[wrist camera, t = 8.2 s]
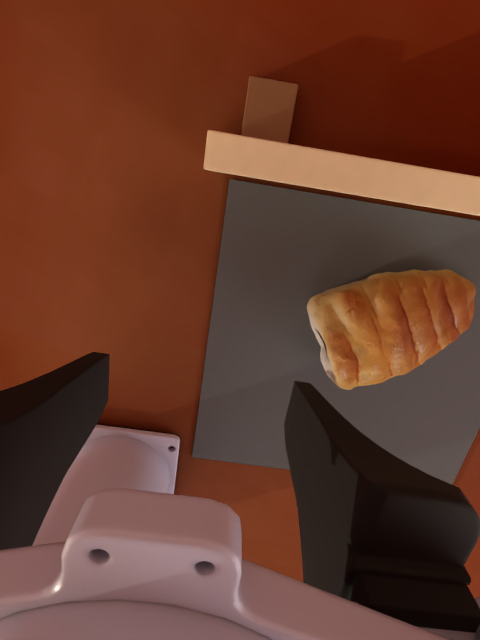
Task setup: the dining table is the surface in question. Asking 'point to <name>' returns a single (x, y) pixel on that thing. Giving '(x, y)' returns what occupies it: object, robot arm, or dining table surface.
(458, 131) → the dining table surface
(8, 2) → the dining table surface
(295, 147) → the back board
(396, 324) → the pastry
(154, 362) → the dining table surface
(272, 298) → the placemat
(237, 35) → the dining table surface
